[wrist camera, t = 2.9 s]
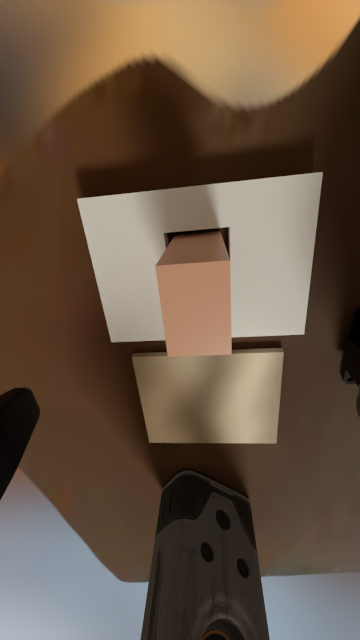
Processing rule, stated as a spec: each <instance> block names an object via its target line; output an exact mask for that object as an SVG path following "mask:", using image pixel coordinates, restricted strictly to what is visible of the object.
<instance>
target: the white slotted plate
mask: <svg viewBox="0 0 360 640" xmlns="http://www.w3.org/2000/svg"><path fill="white" fill-rule="evenodd" d="M322 176H323V172H317V173H308V174H299V175H290V176H281V177H272V178H263V179H254V180H245V181H235V182H226V183H217V184H208V185H199V186H190V187H181V188H172V189H162V190H153V191H144V192H135V193H126V194H117V195H108V196H99V197H90V198H80V199H77V202H78V206H79V210H80V214H81V218H82V222H83V226H84V231H85V235H86V239H87V243H88V247H89V251H90V256H91V260H92V264H93V268H94V272H95V276H96V281H97V285H98V289H99V293H100V297H101V301H102V305H103V310H104V314H105V318H106V322H107V326H108V330H109V335H110V339H111V342H133V341H157V340H165V333H164V326H163V319H162V311H161V304H160V297H159V290H158V283H157V276H156V268H155V265H156V264H157V262H158V261H159V259H160V258H161V256H162V255H163V253H164V251H165V250H166V248H167V247H168V245H169V244H168V235H167V233H169V232H180V231H191V230H202V229H213V228H224V227H228V255H229V258H230V281H231V337H252V336H276V335H300V334H304V330H305V321H306V313H307V304H308V296H309V287H310V279H311V270H312V261H313V253H314V244H315V236H316V227H317V219H318V210H319V201H320V193H321V184H322Z"/></svg>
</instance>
